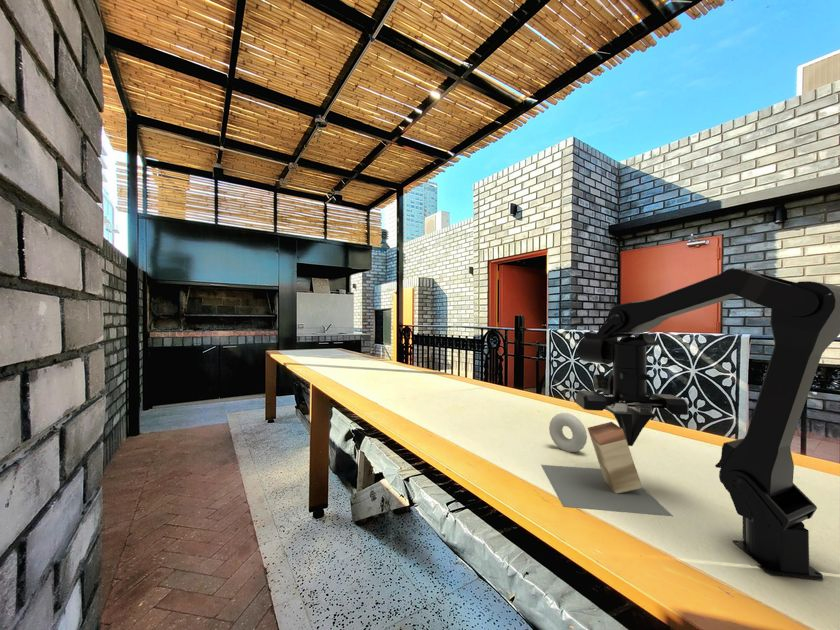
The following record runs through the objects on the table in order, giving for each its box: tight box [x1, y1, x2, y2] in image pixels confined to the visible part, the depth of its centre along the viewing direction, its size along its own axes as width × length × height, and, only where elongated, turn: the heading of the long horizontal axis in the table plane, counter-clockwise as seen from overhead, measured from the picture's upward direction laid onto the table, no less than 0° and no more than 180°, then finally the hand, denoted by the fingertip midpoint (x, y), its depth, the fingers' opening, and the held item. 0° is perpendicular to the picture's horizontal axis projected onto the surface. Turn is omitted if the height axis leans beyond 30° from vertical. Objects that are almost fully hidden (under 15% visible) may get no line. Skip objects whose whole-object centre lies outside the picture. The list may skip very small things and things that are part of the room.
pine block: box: [587, 421, 643, 494], centre depth 67 cm, size 5×5×12 cm
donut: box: [548, 412, 588, 453], centre depth 87 cm, size 10×4×10 cm, turn 36°
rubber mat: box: [540, 464, 674, 517], centre depth 67 cm, size 18×18×1 cm
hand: (629, 445), depth 67 cm, fingers closed
